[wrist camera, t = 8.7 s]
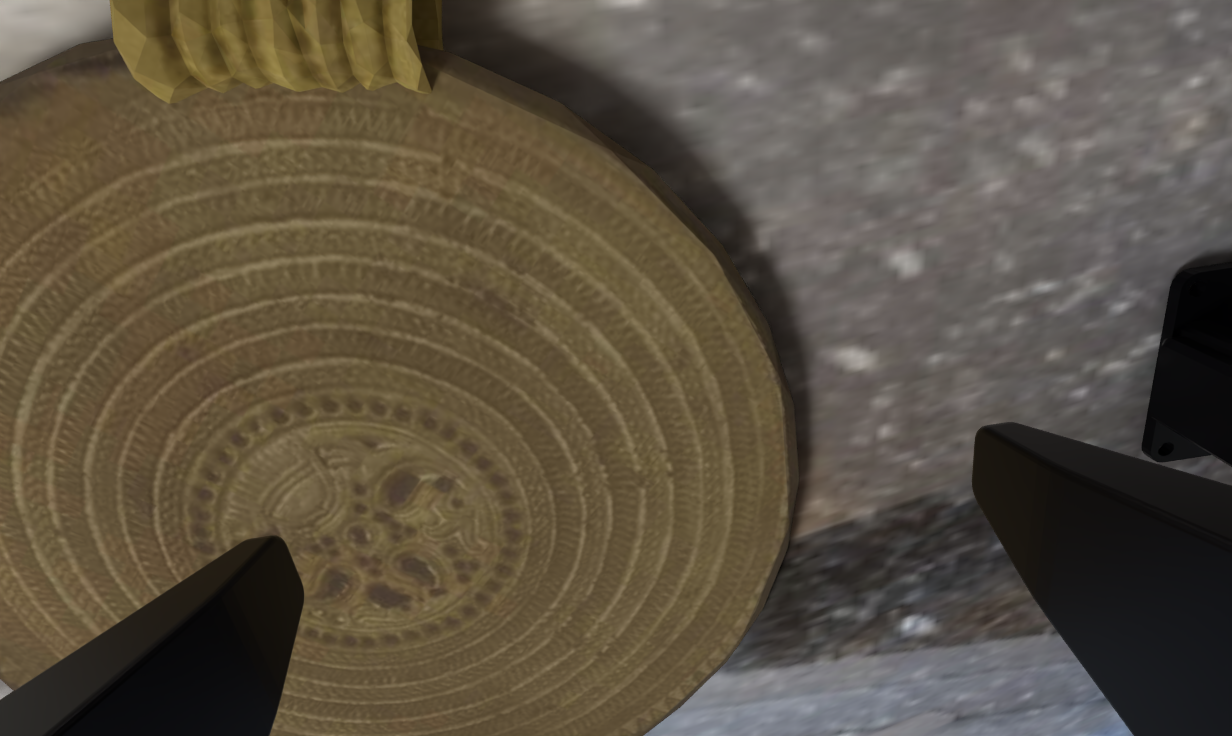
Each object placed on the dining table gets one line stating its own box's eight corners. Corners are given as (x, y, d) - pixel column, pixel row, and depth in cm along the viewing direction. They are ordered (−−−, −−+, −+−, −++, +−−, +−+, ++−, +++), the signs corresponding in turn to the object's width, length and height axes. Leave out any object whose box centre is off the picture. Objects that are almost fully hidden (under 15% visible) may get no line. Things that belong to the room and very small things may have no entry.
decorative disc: (47, 878, 27) (-604, -13, 14) (100, 792, 30) (-391, -7, 17) (791, 807, 27) (863, -108, 14) (769, 730, 30) (812, -85, 17)
